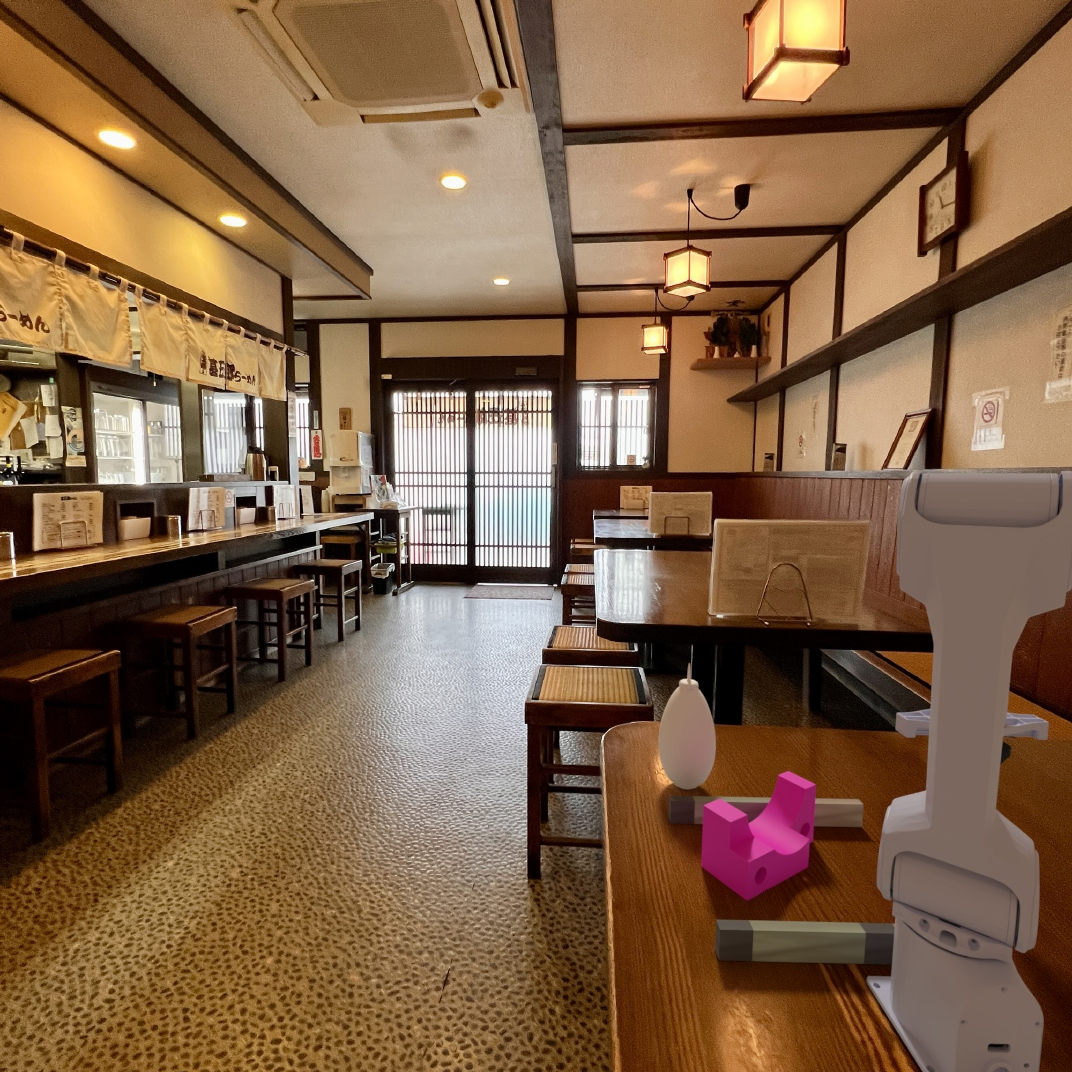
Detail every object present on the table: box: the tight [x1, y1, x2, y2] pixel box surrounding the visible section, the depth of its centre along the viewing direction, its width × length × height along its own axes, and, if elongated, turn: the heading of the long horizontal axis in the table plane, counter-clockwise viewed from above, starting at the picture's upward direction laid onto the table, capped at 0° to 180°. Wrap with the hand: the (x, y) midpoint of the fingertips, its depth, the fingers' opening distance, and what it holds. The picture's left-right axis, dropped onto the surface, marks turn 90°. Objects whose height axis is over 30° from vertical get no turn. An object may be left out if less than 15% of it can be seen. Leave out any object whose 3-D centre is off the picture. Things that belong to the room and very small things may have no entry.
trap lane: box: [667, 795, 895, 966], centre depth 63 cm, size 22×24×3 cm
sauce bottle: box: [657, 662, 717, 790], centre depth 82 cm, size 8×8×18 cm
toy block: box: [700, 770, 817, 902], centre depth 66 cm, size 15×6×8 cm, turn 121°
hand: (964, 800), depth 62 cm, fingers closed
